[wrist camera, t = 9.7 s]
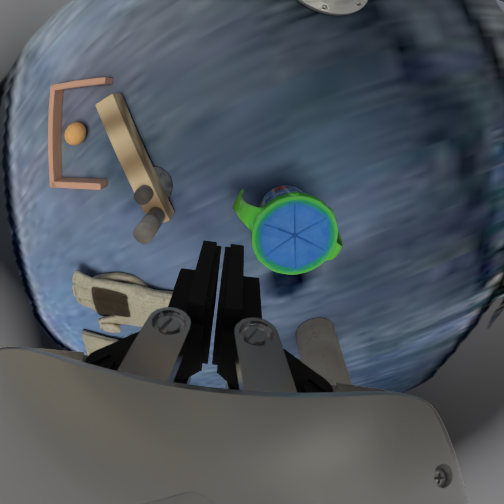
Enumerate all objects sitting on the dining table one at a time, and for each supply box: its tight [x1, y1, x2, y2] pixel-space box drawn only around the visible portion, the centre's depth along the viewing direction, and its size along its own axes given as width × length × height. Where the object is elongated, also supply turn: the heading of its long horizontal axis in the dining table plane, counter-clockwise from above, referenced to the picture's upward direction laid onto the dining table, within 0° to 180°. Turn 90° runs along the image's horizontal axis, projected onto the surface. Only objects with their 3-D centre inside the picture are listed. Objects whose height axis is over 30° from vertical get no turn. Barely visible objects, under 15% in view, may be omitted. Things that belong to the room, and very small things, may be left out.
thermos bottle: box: [296, 318, 352, 385], centre depth 42 cm, size 8×8×28 cm
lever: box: [96, 94, 175, 244], centre depth 32 cm, size 20×3×9 cm, turn 20°
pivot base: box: [153, 166, 173, 198], centre depth 39 cm, size 6×6×1 cm
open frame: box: [48, 77, 113, 190], centre depth 33 cm, size 17×10×2 cm, turn 171°
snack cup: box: [233, 185, 343, 275], centre depth 37 cm, size 16×10×10 cm
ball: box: [65, 122, 86, 145], centre depth 32 cm, size 4×4×4 cm
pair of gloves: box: [72, 270, 173, 355], centre depth 52 cm, size 30×26×5 cm
